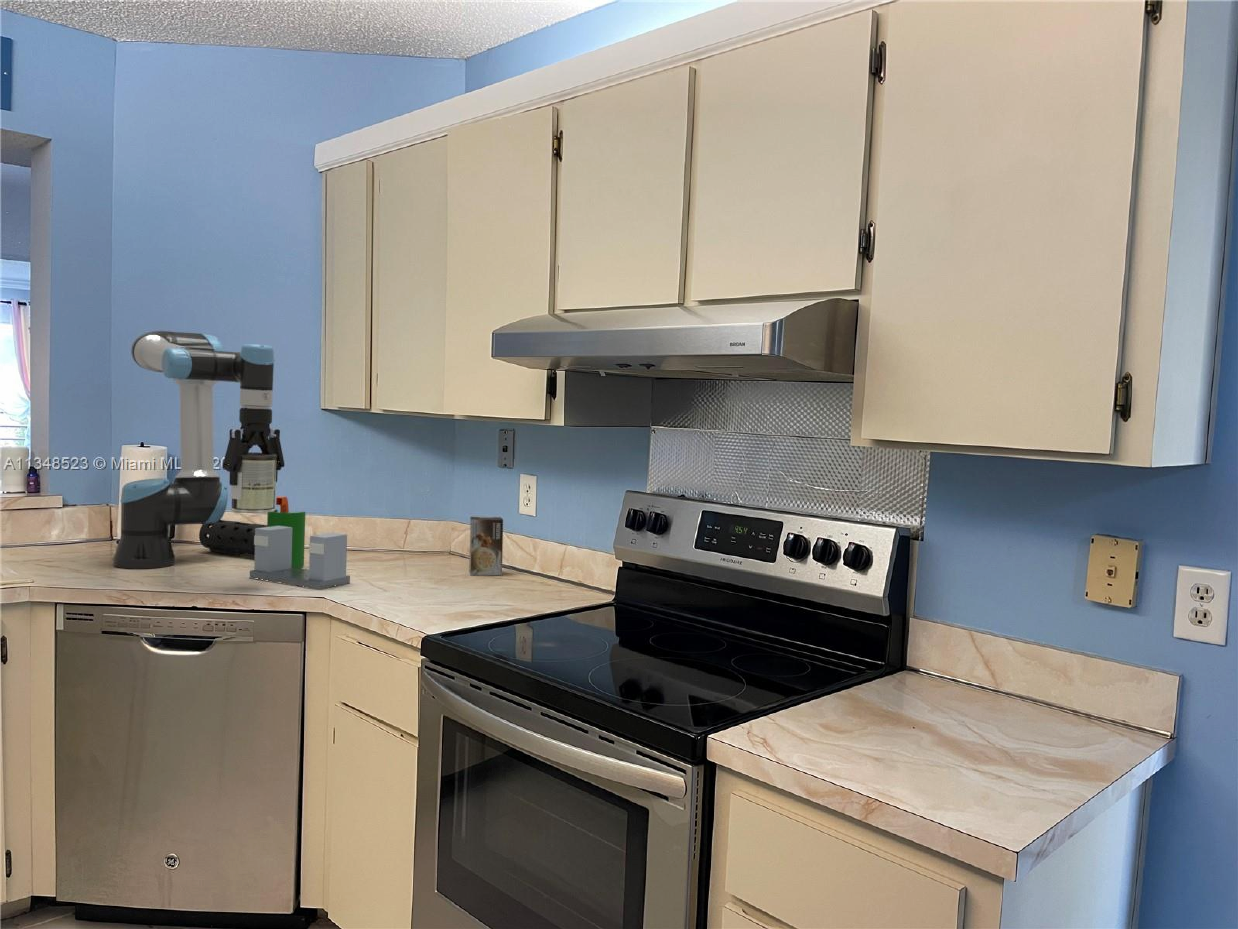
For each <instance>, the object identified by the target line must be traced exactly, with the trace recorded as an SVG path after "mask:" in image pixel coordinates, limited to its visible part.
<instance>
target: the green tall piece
mask: <svg viewBox="0 0 1238 929" xmlns="http://www.w3.org/2000/svg"><path fill="white" fill-rule="evenodd" d="M275 506H279V507H280V508H279V509H280V512H279V510H278V509H275V511H273V512H267V516H266V517H267V521H266V525H267V527H272V526H285V527H292V563H291V567H296V568H301V567H302V568H303V566H304V567H305V540H306V539H305V537H306V535H305V534H306V511H299V512H290V511H289V508H290V507H289V500H288V498H287V496H277V497H275Z"/></svg>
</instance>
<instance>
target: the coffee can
mask: <svg viewBox="0 0 1238 929" xmlns="http://www.w3.org/2000/svg"><path fill="white" fill-rule="evenodd" d="M237 456H242V466H241V468H240V470H239V472H242V495H241V499H232V498H231V509H230V510H231V511H232V512H234V513H242V514H263V513H264V514H265V513H266V514H268V512H273V511H275V510H276V492H275V484H276V483H277V482H276V458H277V455H276V454H271V455H269V454H262V452H248V454H247V455H237Z"/></svg>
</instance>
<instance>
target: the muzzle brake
mask: <svg viewBox="0 0 1238 929" xmlns="http://www.w3.org/2000/svg"><path fill="white" fill-rule="evenodd" d="M263 527H267V524H260V523H248V522H241V521H237V520H235V521H234V520H223V519H220V520H219V521H218V522H215V523H206V524H201V526H200V529H199V534H198V537H199V539H198V540H199V541H200V544H201V545H202V547H204V548H205V549H209V552H211V551H214V552H213V553H219V552H221V553H220V554H229V555H238V556H243V555H248V556H249V555H250V556H255V545H254V536H255V528H263Z"/></svg>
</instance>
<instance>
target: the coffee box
mask: <svg viewBox="0 0 1238 929" xmlns="http://www.w3.org/2000/svg"><path fill="white" fill-rule="evenodd" d="M469 518H470V524H469V565H468V567H469V568H468V573H469V575H470V576H503V552H504V551H503V549H504V548H503V543H504V519H503V518H502V517H501V516H497V517H495V516H470V517H469Z"/></svg>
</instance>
